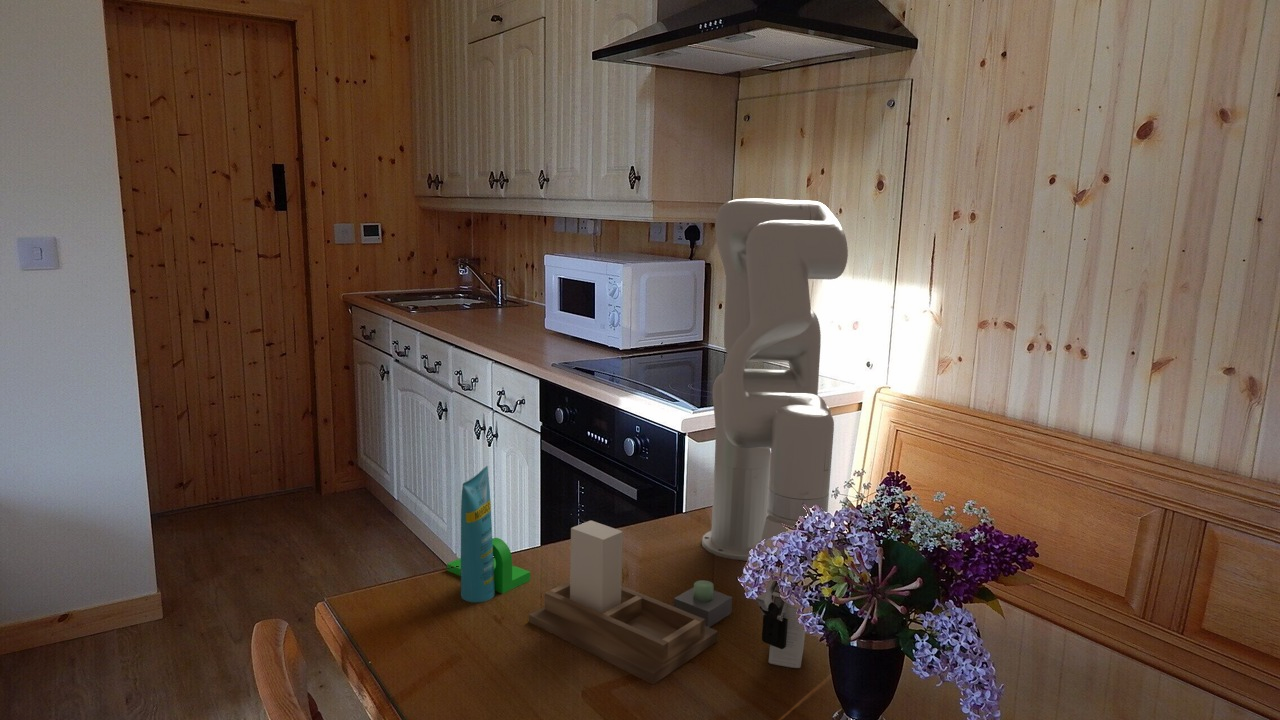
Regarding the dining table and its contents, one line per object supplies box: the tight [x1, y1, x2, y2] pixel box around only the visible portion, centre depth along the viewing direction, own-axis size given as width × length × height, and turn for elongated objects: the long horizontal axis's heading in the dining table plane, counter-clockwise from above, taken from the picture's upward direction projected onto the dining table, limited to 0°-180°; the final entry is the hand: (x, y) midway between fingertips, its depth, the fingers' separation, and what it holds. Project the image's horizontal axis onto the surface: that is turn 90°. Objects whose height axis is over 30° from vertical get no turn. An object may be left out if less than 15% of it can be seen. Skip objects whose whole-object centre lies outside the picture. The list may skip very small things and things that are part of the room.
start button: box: [693, 579, 714, 602], centre depth 119 cm, size 3×3×2 cm
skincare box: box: [768, 583, 806, 669], centre depth 107 cm, size 6×4×12 cm
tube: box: [460, 465, 496, 603], centre depth 120 cm, size 7×5×19 cm, turn 170°
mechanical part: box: [446, 537, 531, 594], centre depth 128 cm, size 12×6×8 cm, turn 55°
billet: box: [569, 519, 624, 613], centre depth 115 cm, size 4×6×12 cm, turn 51°
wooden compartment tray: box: [528, 580, 719, 685], centre depth 113 cm, size 14×22×4 cm, turn 51°
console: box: [673, 586, 733, 628], centre depth 119 cm, size 6×6×2 cm
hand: (789, 632), depth 108 cm, fingers closed on skincare box, 7 cm apart
